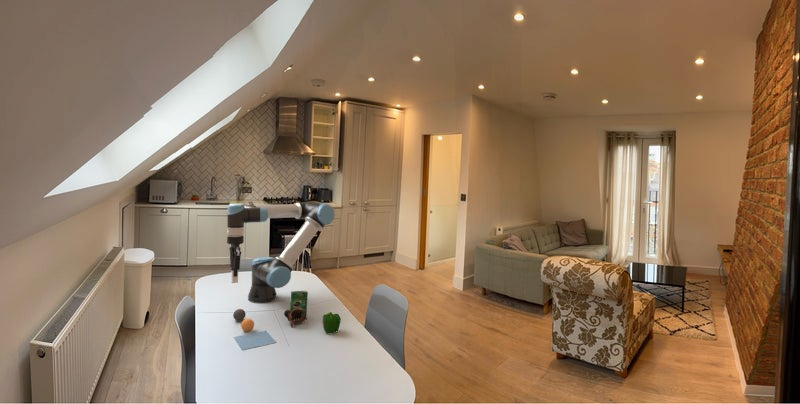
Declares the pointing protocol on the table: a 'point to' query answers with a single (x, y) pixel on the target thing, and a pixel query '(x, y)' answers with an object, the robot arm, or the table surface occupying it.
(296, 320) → the pottery mug
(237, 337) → the blue mark
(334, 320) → the bell pepper
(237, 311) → the black ball
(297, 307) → the coffee box
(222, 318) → the table surface
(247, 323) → the orange ball
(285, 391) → the table surface
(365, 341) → the table surface
